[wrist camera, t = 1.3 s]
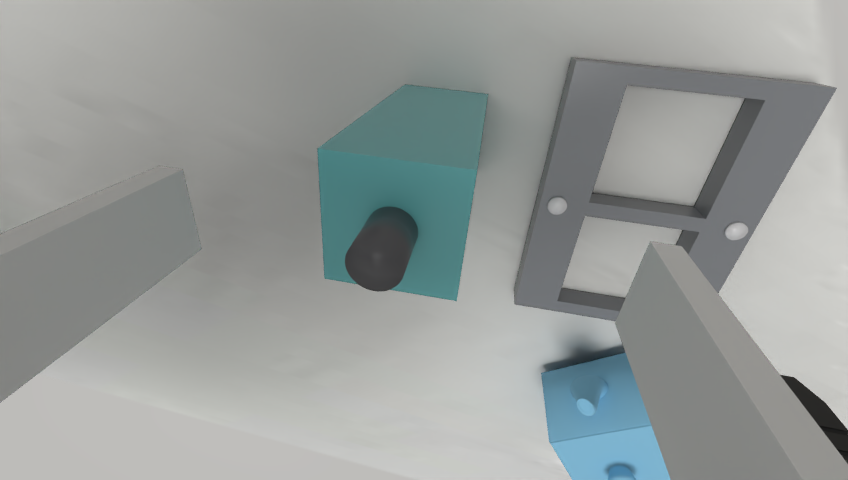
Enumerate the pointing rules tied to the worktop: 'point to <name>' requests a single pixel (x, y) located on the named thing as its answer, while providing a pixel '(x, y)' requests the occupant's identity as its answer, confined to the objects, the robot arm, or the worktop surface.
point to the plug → (402, 192)
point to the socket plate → (702, 224)
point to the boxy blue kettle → (601, 422)
